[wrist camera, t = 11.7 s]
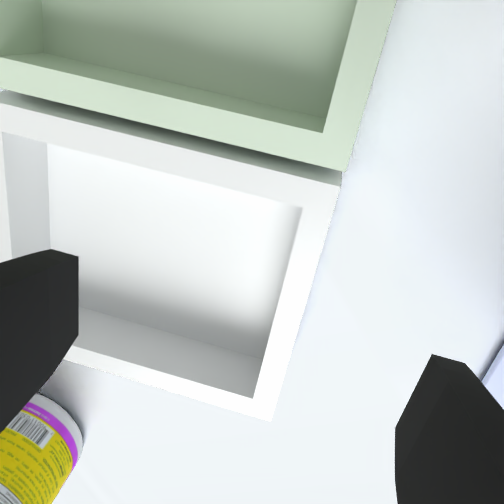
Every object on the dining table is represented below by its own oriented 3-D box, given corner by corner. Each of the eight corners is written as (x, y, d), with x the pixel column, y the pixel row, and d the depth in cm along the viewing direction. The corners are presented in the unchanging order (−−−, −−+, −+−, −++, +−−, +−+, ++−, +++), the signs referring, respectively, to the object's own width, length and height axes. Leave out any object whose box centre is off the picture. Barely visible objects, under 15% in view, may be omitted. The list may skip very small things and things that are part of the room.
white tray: (342, 162, 17) (341, 187, 14) (280, 375, 22) (270, 421, 19) (28, 86, 18) (-28, 96, 15) (39, 305, 23) (-1, 340, 20)
